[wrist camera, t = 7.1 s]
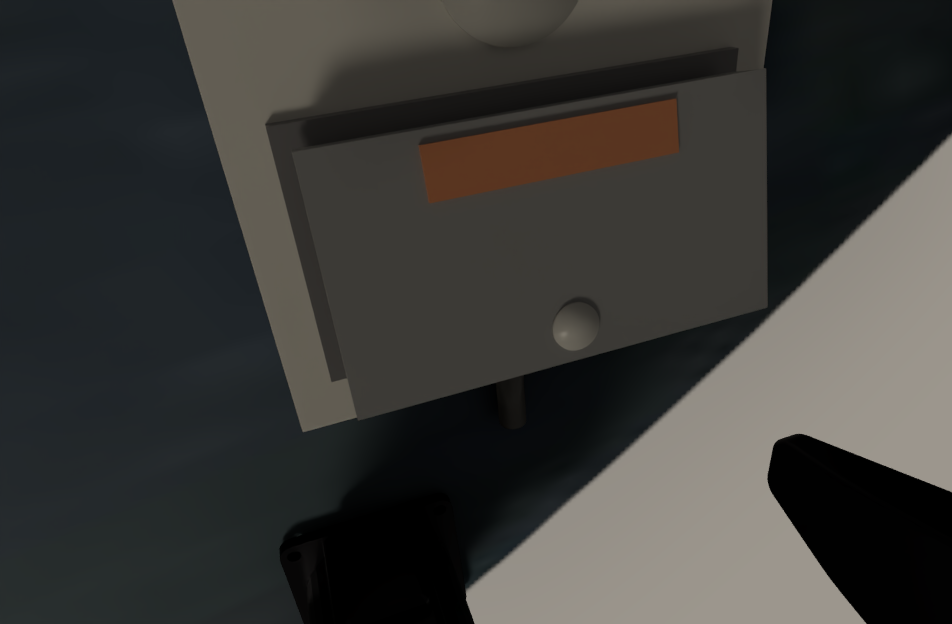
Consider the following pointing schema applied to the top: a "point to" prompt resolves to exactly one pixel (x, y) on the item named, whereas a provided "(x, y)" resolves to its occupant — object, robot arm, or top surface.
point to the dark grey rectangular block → (538, 234)
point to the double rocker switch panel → (411, 111)
